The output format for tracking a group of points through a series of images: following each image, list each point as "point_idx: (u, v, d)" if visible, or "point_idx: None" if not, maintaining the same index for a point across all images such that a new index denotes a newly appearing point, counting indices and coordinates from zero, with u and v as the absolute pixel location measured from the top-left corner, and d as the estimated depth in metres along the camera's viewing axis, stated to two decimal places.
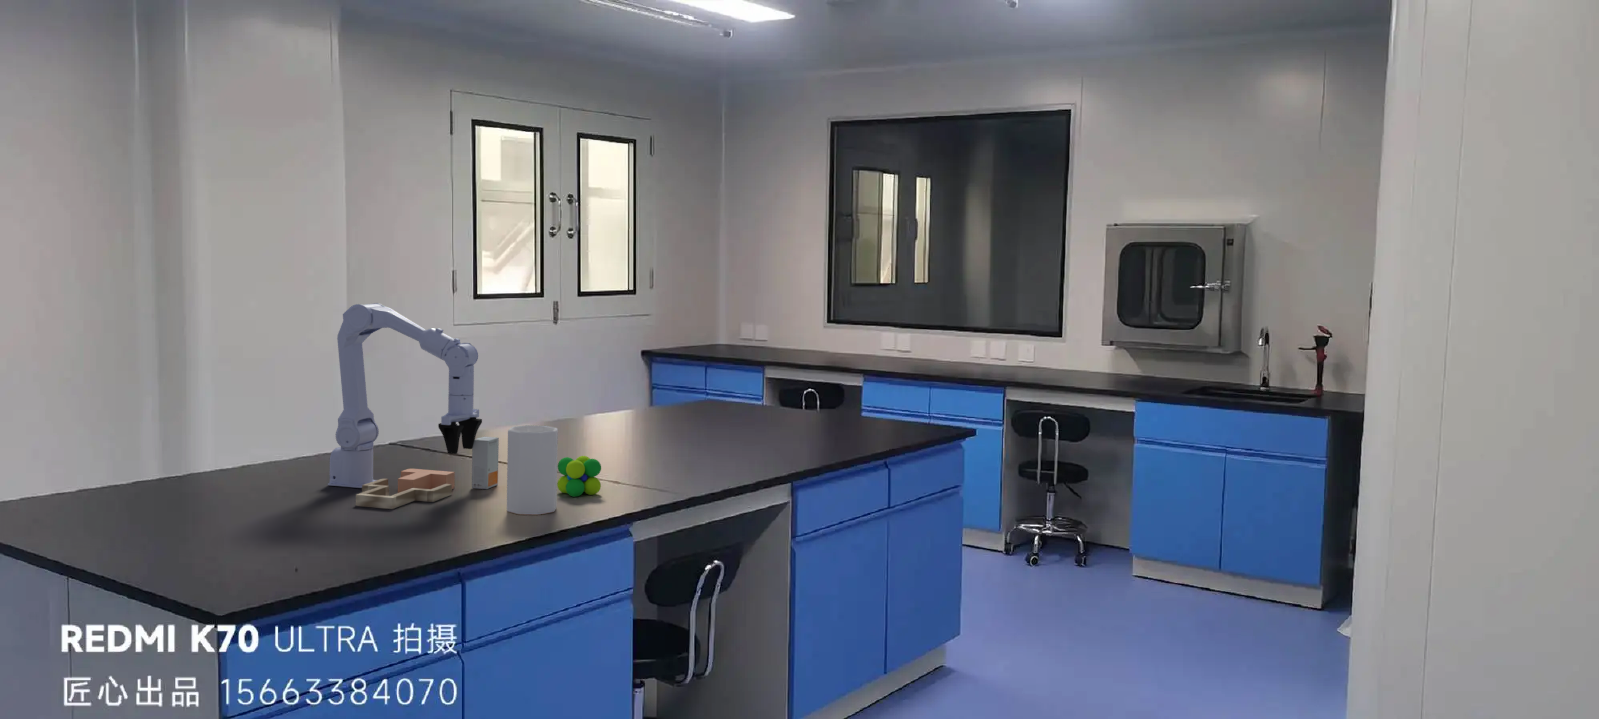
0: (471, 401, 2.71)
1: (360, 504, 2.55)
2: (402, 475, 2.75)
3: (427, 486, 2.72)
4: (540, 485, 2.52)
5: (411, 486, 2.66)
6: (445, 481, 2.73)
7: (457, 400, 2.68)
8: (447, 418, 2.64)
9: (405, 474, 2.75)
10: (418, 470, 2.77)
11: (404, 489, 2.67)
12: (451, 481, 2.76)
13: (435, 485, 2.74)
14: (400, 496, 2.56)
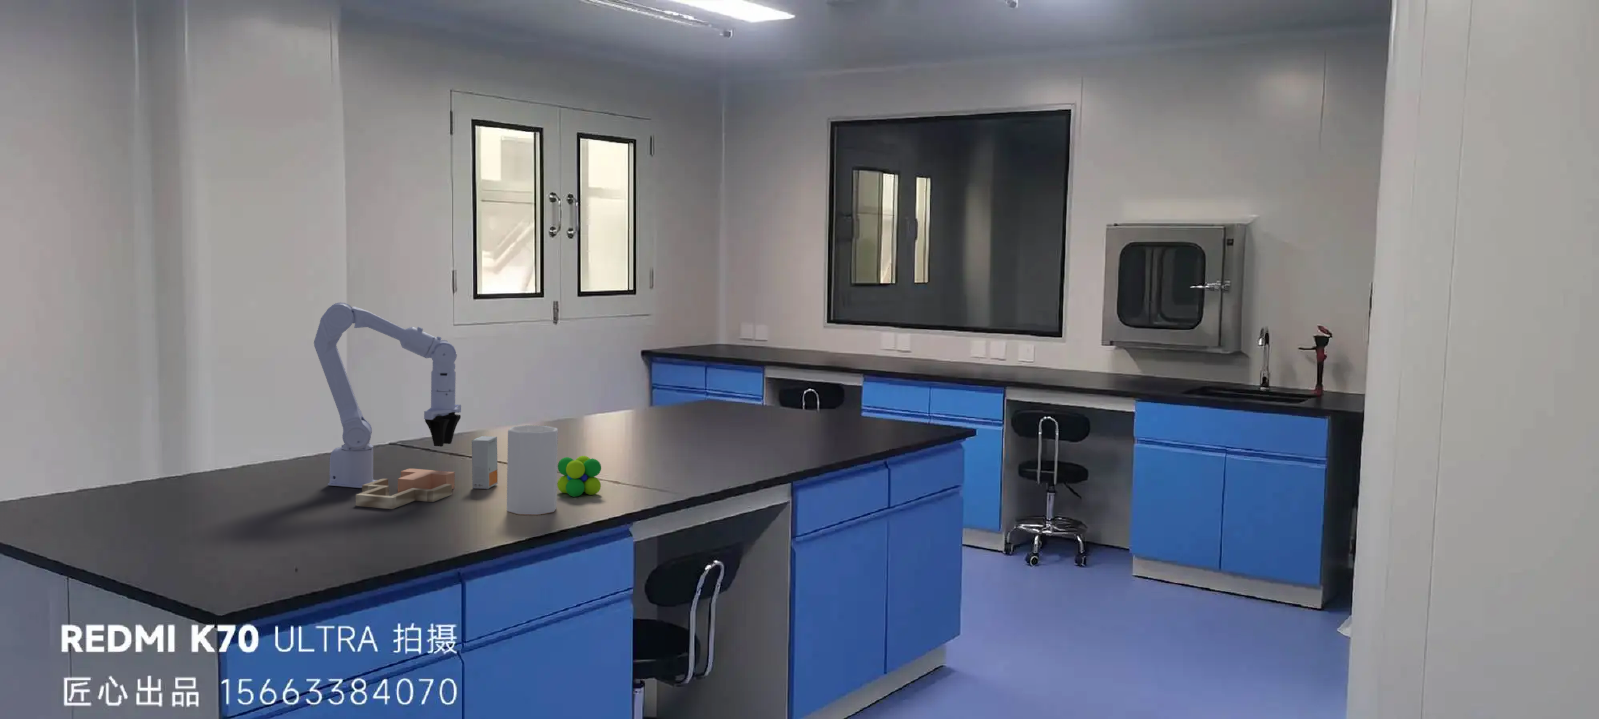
0: (453, 397, 2.81)
1: (360, 504, 2.55)
2: (402, 475, 2.75)
3: (427, 486, 2.72)
4: (540, 485, 2.52)
5: (411, 486, 2.66)
6: (445, 481, 2.73)
7: (439, 396, 2.79)
8: (430, 413, 2.75)
9: (405, 474, 2.75)
10: (418, 470, 2.77)
11: (404, 489, 2.67)
12: (451, 481, 2.76)
13: (435, 485, 2.74)
14: (400, 496, 2.56)
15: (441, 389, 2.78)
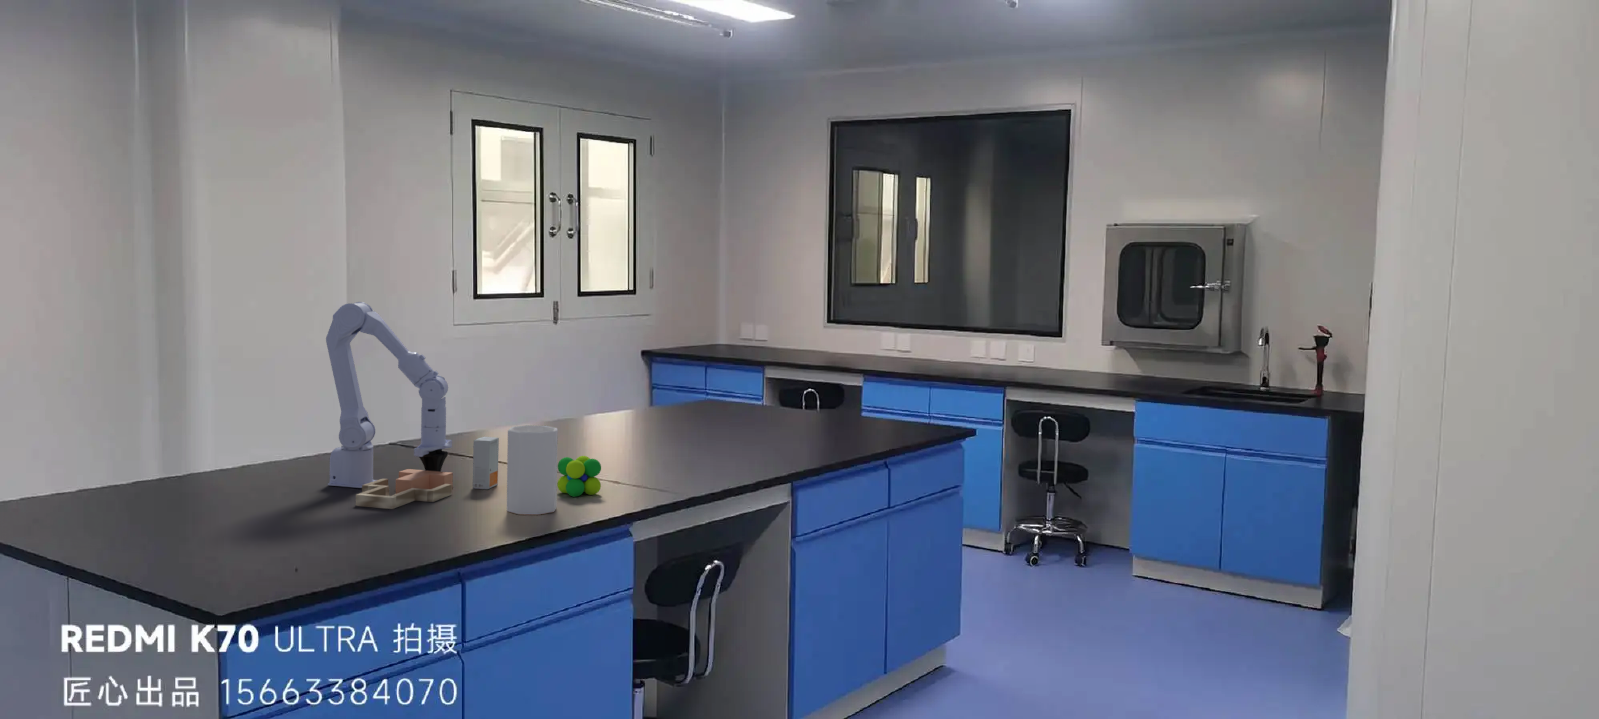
0: (443, 433, 2.77)
1: (360, 504, 2.55)
2: (400, 476, 2.74)
3: (425, 486, 2.71)
4: (540, 485, 2.52)
5: (409, 487, 2.65)
6: (443, 482, 2.72)
7: (429, 432, 2.75)
8: (419, 450, 2.71)
9: (403, 475, 2.74)
10: (416, 471, 2.76)
11: (402, 490, 2.66)
12: (449, 482, 2.75)
13: (433, 486, 2.73)
14: (400, 496, 2.56)
15: (429, 425, 2.75)
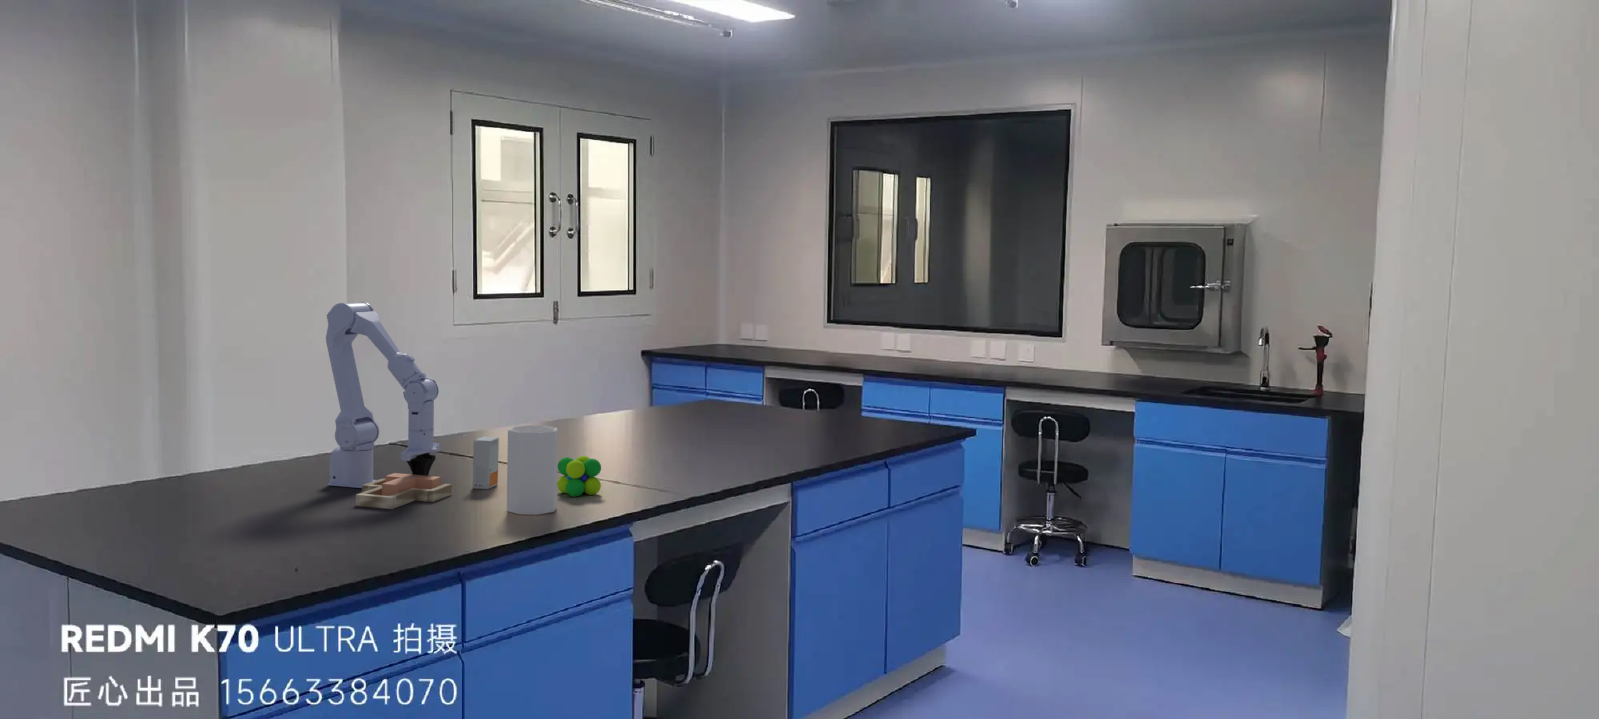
0: (431, 436, 2.71)
1: (360, 504, 2.55)
2: (387, 480, 2.69)
3: None
4: (540, 485, 2.52)
5: (395, 491, 2.60)
6: (430, 486, 2.67)
7: (417, 435, 2.69)
8: (406, 454, 2.65)
9: (390, 479, 2.69)
10: (403, 475, 2.71)
11: (388, 494, 2.60)
12: (437, 486, 2.69)
13: None
14: (400, 496, 2.56)
15: (412, 428, 2.69)
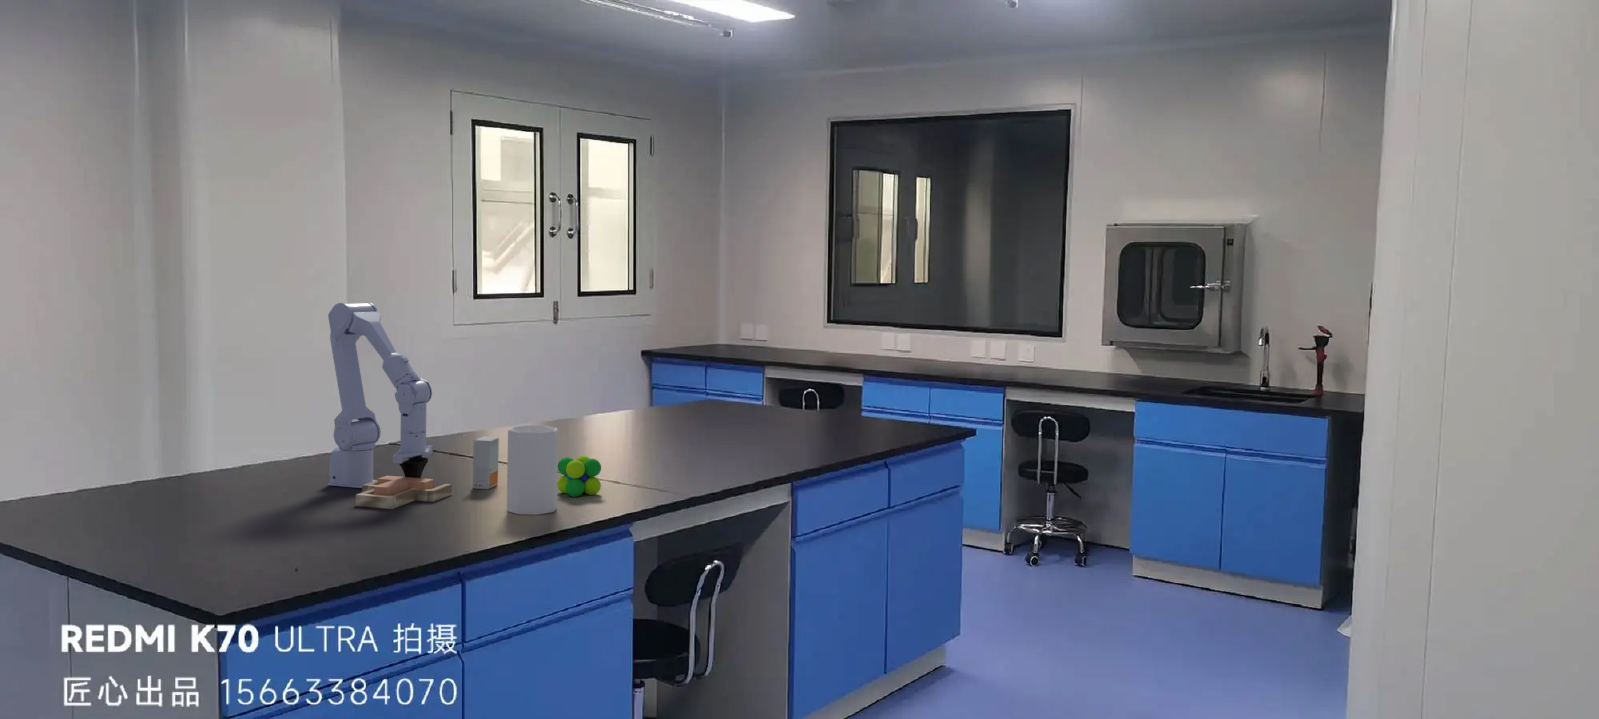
0: (423, 438, 2.68)
1: (360, 504, 2.55)
2: (379, 482, 2.66)
3: None
4: (540, 485, 2.52)
5: (387, 494, 2.56)
6: None
7: (409, 438, 2.66)
8: (398, 456, 2.62)
9: (382, 481, 2.65)
10: (396, 477, 2.67)
11: None
12: None
13: None
14: (400, 496, 2.56)
15: (403, 430, 2.66)
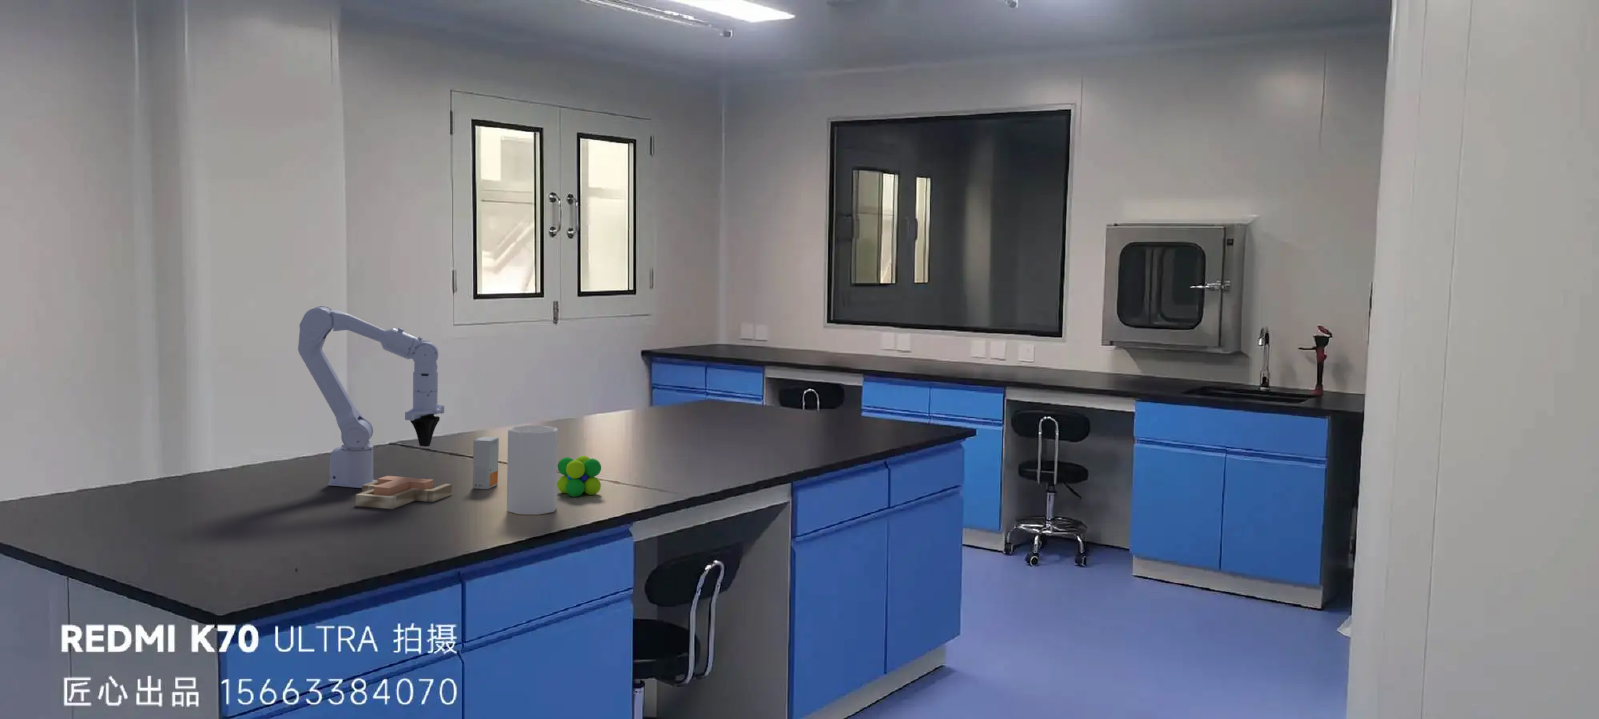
0: (435, 397, 2.78)
1: (360, 504, 2.55)
2: (379, 483, 2.66)
3: None
4: (540, 485, 2.52)
5: (387, 494, 2.56)
6: None
7: (421, 396, 2.76)
8: (410, 414, 2.72)
9: (382, 482, 2.65)
10: (396, 477, 2.67)
11: None
12: None
13: None
14: (400, 496, 2.56)
15: (422, 390, 2.76)
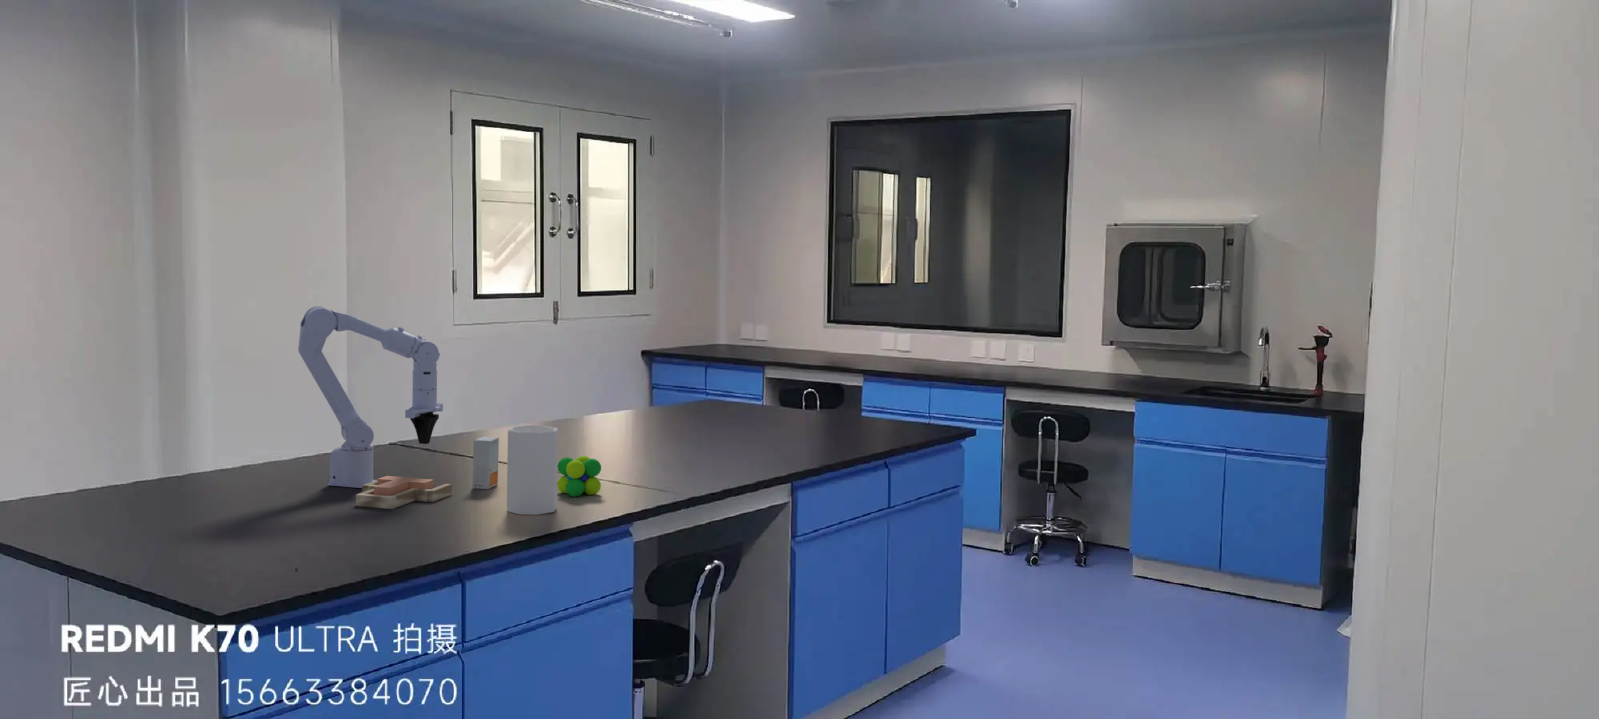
0: (434, 395, 2.82)
1: (360, 504, 2.55)
2: (379, 483, 2.66)
3: None
4: (540, 485, 2.52)
5: (387, 494, 2.56)
6: None
7: (421, 394, 2.80)
8: (411, 412, 2.75)
9: (382, 482, 2.65)
10: (396, 478, 2.67)
11: None
12: None
13: None
14: (400, 496, 2.56)
15: (424, 388, 2.80)
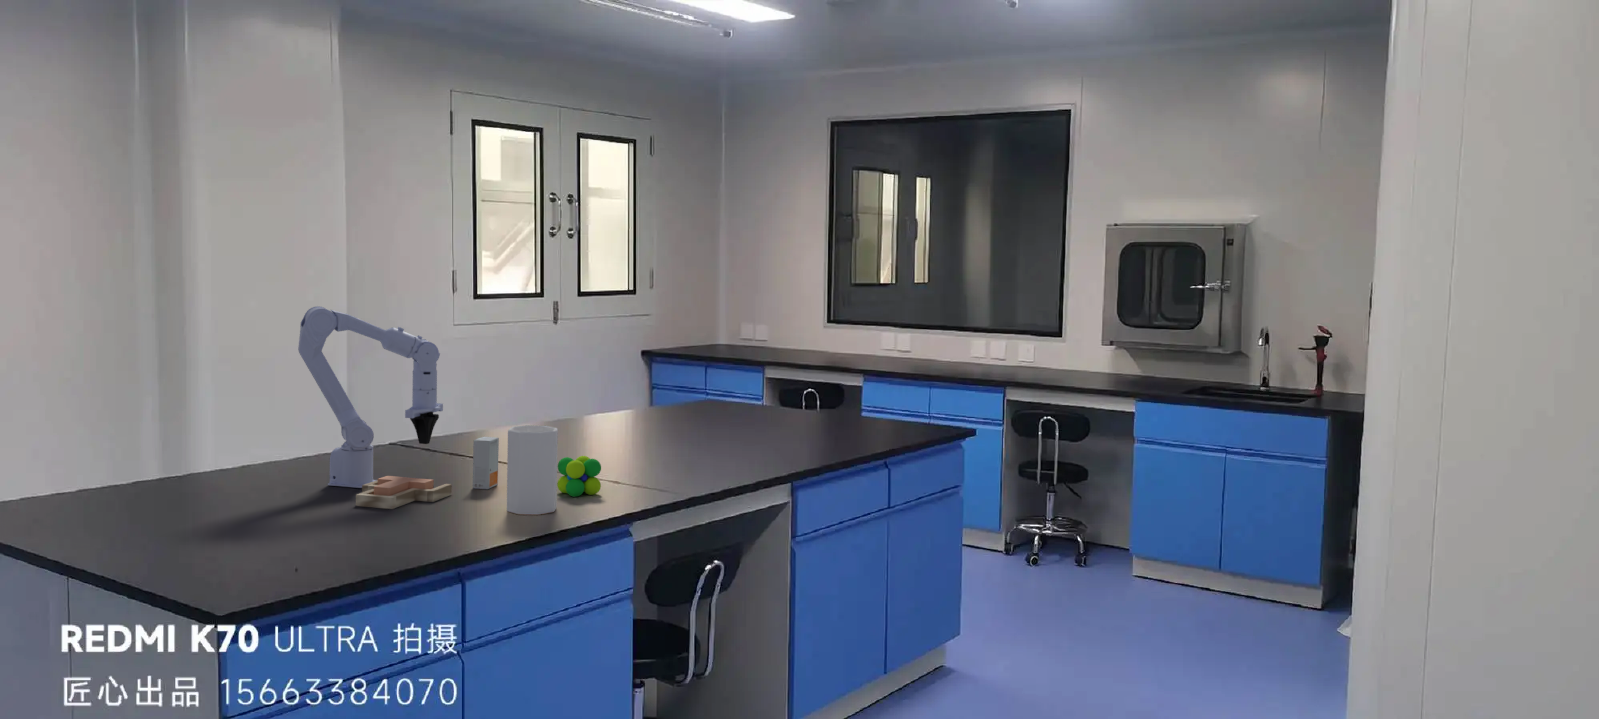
0: (434, 395, 2.82)
1: (360, 504, 2.55)
2: (379, 483, 2.66)
3: None
4: (540, 485, 2.52)
5: (387, 494, 2.56)
6: None
7: (421, 394, 2.80)
8: (411, 412, 2.75)
9: (382, 482, 2.65)
10: (396, 477, 2.67)
11: None
12: None
13: None
14: (400, 496, 2.56)
15: (424, 388, 2.80)
